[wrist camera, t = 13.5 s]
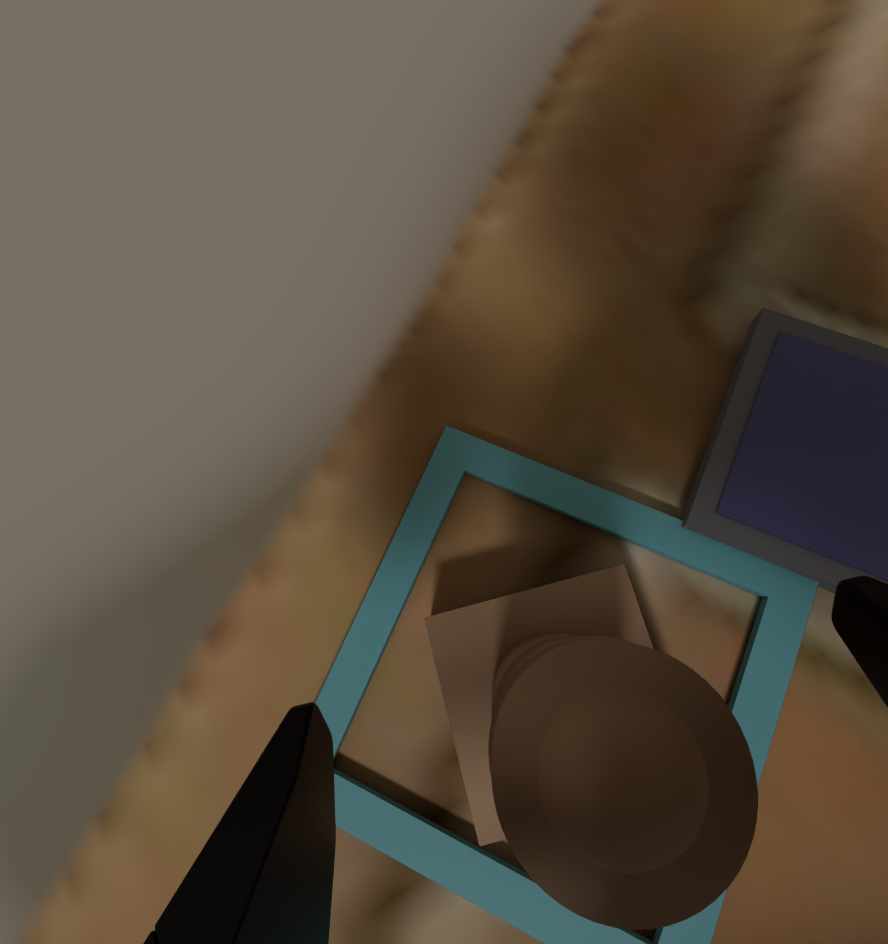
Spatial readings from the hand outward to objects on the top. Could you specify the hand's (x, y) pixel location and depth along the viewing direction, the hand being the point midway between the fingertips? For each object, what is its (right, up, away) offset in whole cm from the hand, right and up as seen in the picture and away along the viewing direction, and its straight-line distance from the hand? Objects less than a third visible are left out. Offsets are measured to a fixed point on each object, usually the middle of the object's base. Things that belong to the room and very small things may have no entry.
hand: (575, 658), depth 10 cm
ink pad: (+10, +3, +9) cm, 14 cm away
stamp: (+1, -3, +8) cm, 8 cm away
